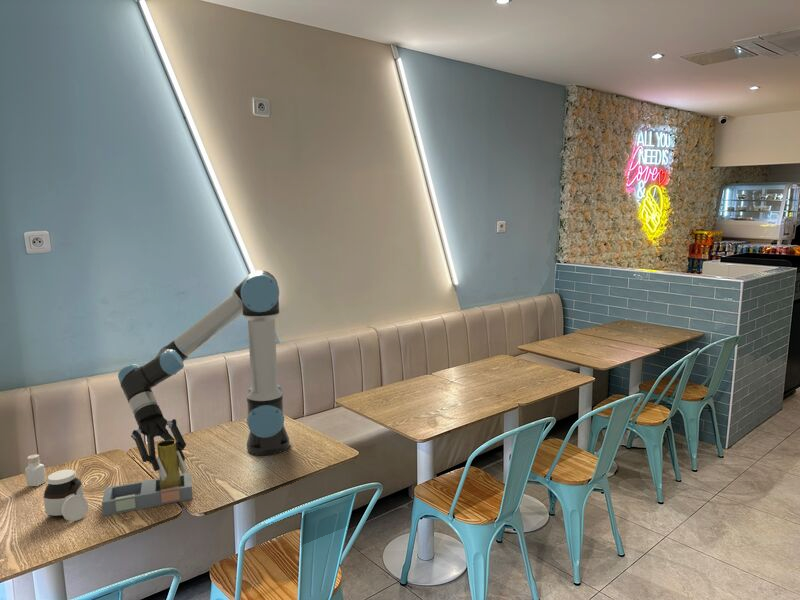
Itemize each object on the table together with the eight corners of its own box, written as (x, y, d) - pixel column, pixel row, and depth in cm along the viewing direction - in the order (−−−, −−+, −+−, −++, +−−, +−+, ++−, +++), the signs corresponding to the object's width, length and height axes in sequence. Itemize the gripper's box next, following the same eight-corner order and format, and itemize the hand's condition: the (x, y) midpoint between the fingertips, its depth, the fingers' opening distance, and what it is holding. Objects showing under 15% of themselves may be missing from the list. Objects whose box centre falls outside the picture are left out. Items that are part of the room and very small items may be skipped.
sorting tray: (191, 484, 183) (190, 471, 183) (192, 499, 174) (191, 486, 173) (106, 500, 175) (105, 486, 174) (103, 516, 165) (101, 502, 164)
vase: (156, 488, 176) (151, 443, 174) (175, 481, 181) (171, 437, 178) (165, 494, 172) (161, 448, 170) (185, 487, 176) (181, 442, 174)
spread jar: (63, 504, 173) (58, 467, 171) (100, 503, 173) (96, 466, 171) (37, 525, 161) (32, 486, 160) (77, 525, 161) (72, 485, 159)
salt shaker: (37, 487, 184) (33, 459, 183) (26, 487, 185) (22, 458, 183) (47, 482, 188) (43, 454, 186) (36, 481, 189) (32, 453, 187)
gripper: (171, 408, 190) (200, 470, 182) (112, 424, 177) (140, 491, 169) (177, 396, 186) (207, 459, 177) (118, 411, 173) (146, 480, 164)
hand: (174, 474), depth 173 cm, fingers closed on vase, 5 cm apart
